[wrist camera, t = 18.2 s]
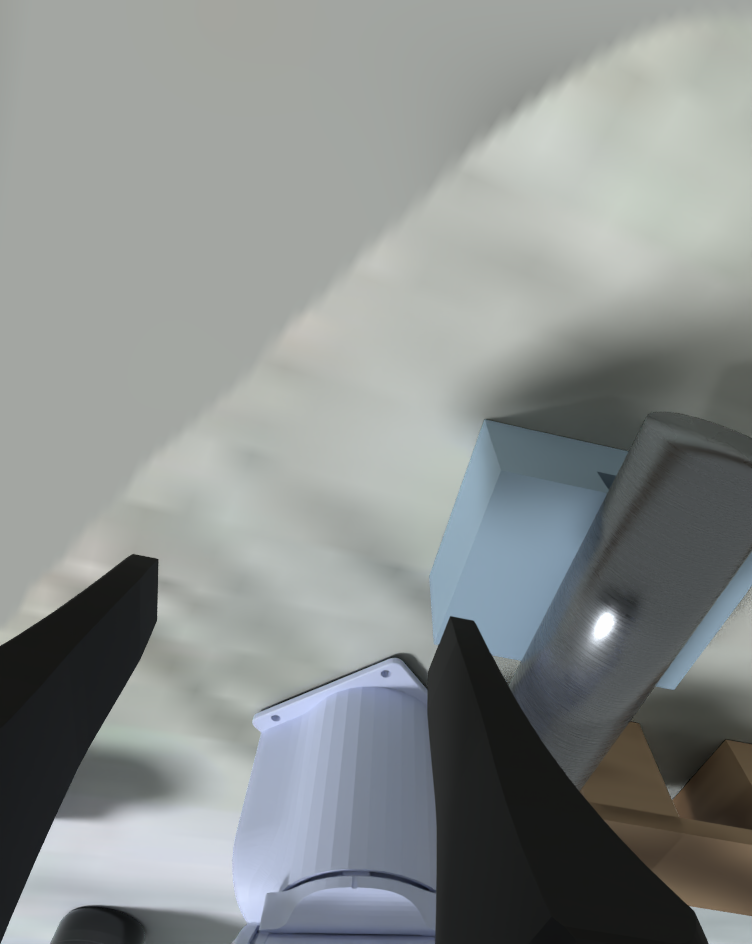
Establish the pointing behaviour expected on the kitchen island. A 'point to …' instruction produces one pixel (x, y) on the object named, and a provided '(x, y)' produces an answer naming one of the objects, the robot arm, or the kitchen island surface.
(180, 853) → the kitchen island surface
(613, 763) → the beam
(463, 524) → the v block
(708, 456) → the axle
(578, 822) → the robot arm
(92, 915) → the supplement bottle
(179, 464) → the kitchen island surface
